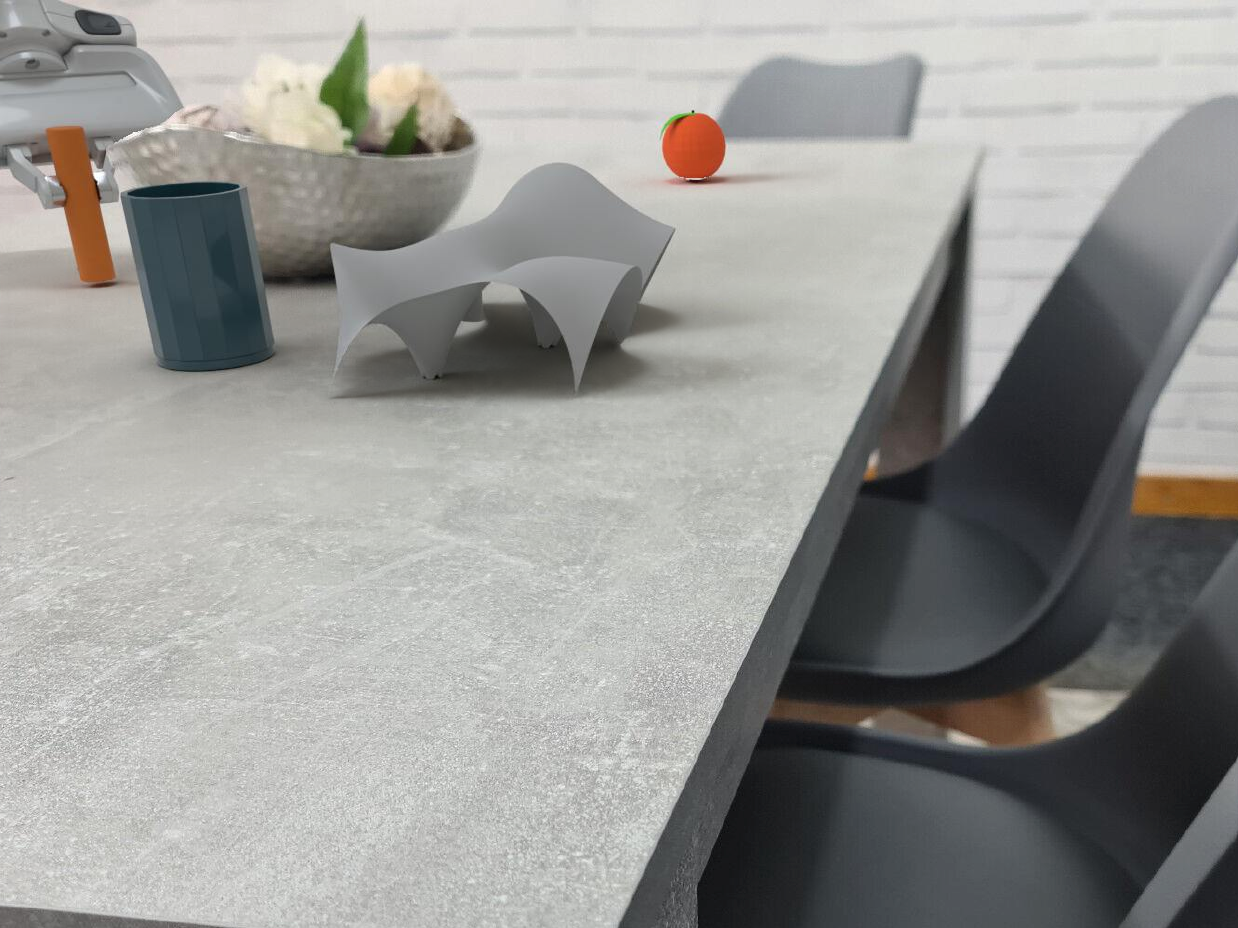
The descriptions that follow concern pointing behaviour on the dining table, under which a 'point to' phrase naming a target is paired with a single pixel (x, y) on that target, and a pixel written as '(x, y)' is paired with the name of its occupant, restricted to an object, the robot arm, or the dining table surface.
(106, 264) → the cylinder
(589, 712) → the dining table surface
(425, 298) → the sculpture
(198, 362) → the can
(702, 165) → the clementine
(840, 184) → the dining table surface
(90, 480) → the dining table surface
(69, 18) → the robot arm
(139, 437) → the dining table surface
